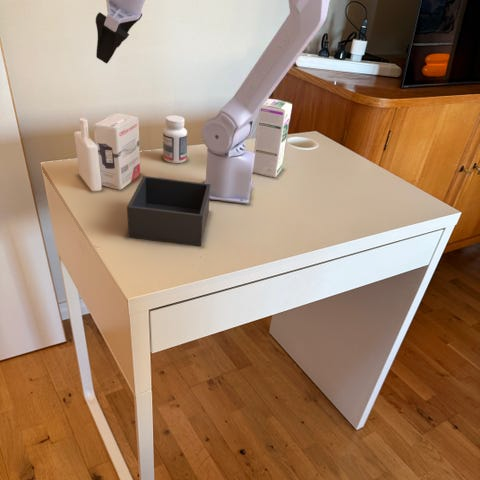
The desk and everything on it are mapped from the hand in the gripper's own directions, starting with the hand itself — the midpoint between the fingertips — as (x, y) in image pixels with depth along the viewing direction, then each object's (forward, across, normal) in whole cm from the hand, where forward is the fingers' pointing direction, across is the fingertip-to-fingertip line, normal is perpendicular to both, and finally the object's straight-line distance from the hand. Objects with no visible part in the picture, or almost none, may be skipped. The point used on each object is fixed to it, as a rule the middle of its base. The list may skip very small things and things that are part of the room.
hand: (108, 51), depth 85 cm
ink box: (+16, +13, +12) cm, 23 cm away
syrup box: (+5, -2, +39) cm, 40 cm away
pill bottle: (+14, -1, +20) cm, 25 cm away
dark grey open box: (+7, +27, +22) cm, 36 cm away
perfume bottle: (+17, +16, +7) cm, 24 cm away
